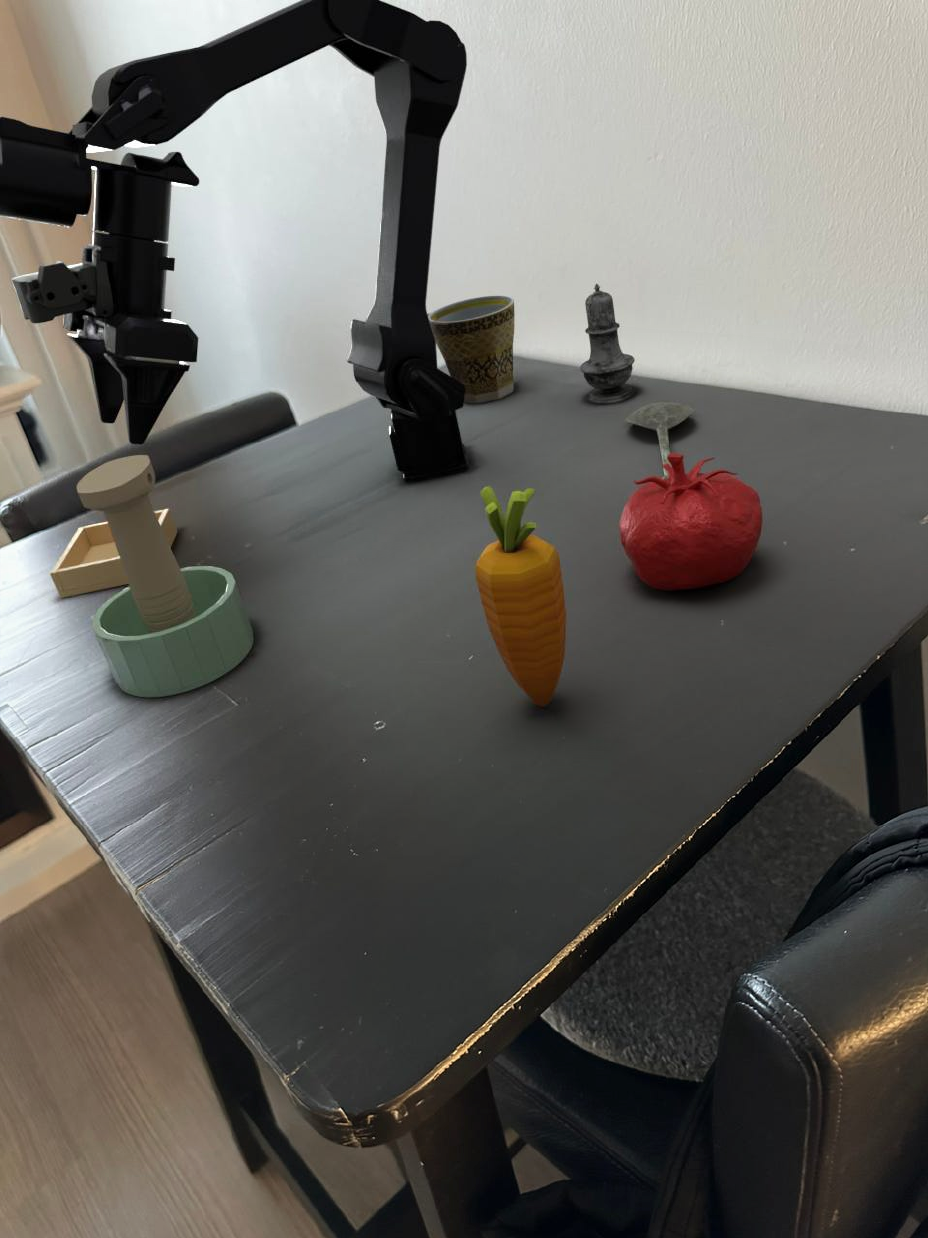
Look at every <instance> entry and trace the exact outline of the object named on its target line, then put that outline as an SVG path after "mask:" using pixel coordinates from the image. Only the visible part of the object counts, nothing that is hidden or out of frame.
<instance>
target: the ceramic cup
mask: <svg viewBox="0 0 928 1238" xmlns="http://www.w3.org/2000/svg"><path fill="white" fill-rule="evenodd" d="M427 314H428V317H429V320H430V324H431V327H432V330H433V333H434V336H435V340H436V347H437V348H438V350H439V352H440V354H441V356H442V358H443V361H444V364H445V367H446V369H447V371H448V373H449V374H448V375H449V376H451V377H452V378H454V379H456V380H457V381H459V382H461V383H462V384H464V385H465V397H464V403H470V404H480V403H481V404H482V403H487V402H491V401H492V402H493V401H497V400H500V399H502V398H505V397H506V396H507V395H509V394H511V393H513V392H514V381H515V379H514V338H515V318H516V317H515V314H516V313H515V300H514V298H512V297H510V296H506V295H485V296H479V297H478V296H477V297H473V298H467V299H463V300H460V301H456V302H452V303H449V304H447V305H444V306H442V307H439V308H437V309H435V310H433V311H432V312H430V313H427Z"/></svg>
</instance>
